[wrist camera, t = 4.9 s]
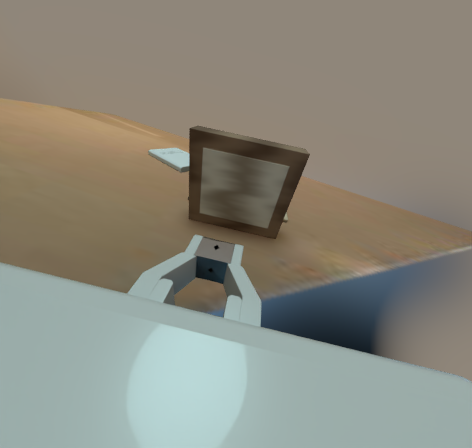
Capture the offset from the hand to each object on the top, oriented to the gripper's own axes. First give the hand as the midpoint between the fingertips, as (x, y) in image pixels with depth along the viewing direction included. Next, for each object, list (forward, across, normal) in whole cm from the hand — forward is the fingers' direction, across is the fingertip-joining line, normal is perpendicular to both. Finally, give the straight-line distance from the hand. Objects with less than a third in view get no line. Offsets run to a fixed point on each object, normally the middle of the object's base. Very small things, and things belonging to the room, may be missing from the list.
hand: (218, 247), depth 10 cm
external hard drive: (+32, -17, -7) cm, 37 cm away
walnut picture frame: (+12, 0, -7) cm, 14 cm away
